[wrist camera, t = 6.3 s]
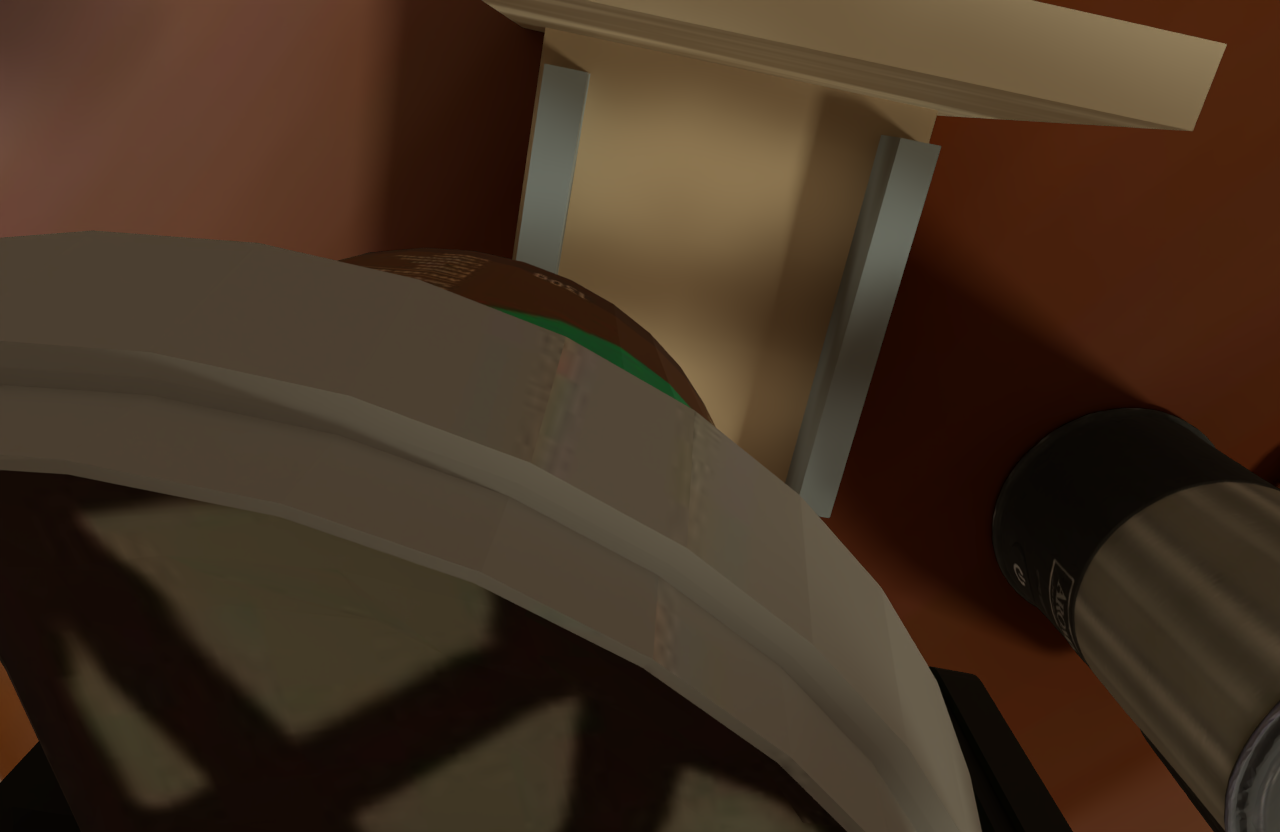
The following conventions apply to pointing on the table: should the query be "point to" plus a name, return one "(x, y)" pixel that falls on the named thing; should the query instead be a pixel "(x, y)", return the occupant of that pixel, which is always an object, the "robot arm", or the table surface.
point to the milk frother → (1161, 593)
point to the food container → (420, 563)
